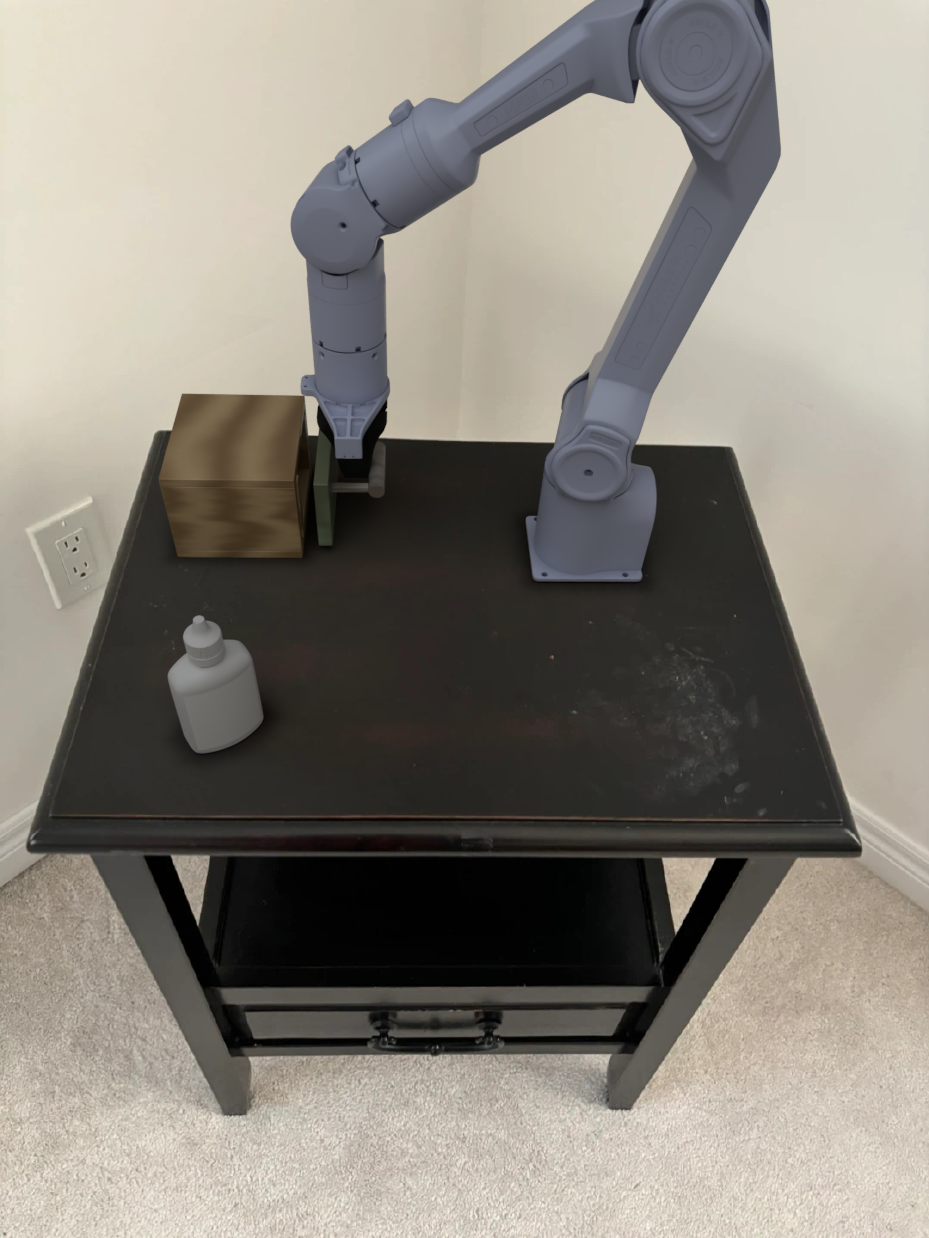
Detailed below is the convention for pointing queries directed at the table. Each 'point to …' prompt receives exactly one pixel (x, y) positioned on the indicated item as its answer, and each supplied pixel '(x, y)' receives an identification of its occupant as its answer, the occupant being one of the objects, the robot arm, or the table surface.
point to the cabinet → (235, 476)
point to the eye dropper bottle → (214, 689)
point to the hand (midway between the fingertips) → (355, 473)
